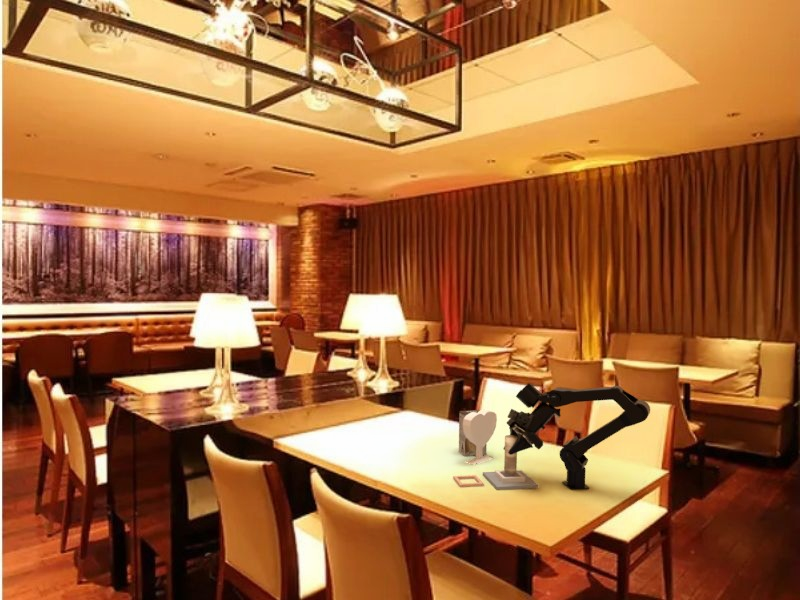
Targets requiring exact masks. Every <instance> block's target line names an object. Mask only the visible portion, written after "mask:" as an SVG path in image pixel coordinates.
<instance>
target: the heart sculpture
mask: <svg viewBox="0 0 800 600" xmlns="http://www.w3.org/2000/svg"><path fill="white" fill-rule="evenodd" d="M479 410H480V411H479V412H478V413H476V412H471V413H469V414H468V415H466V416H465V418H464V420H463V432H464V434H465V436H466V438H467V439H468V440H469V441H470V442H472V443H473V444H475V445H476V455H475V457H474V458H472V459H468V460H465V461H466V462H468V463H470V464H476V463H479V464H482V463H484V462H483V461H485V462H488V461H487V460H489V459H492V460H494V459H493V458H494V457H493V458H491V457H492V456H491V457H489V456H490V455H484V456H483V447H484V446H485V444H486V445H487V443H488V442H489V441H490V440H491V438H492V437H493V435H494V433H495V430H496V428H497V420H498V418H497V413H496V412H494V411H490V410H485V409H479ZM489 461H490V460H489ZM481 462H482V463H481ZM470 464H469V465H470ZM476 465H477V464H476Z"/></svg>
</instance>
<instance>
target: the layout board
mask: <svg viewBox="0 0 800 600" xmlns="http://www.w3.org/2000/svg"><path fill="white" fill-rule="evenodd" d="M482 476H483V477H484V478H485V479H486V480H487V481H488V483H490V484H491V486H493V488H494V489H495V490H496V489H497V490H496V491H507V490H525V489H539V484H538V483H537V482H536V481H534V479H532V478H531V477H530V476H529V475H527V473H525V472H524V471H523V470H517V469H516V474H514V475H509V474H505V473H504V469H501V470H500V469H499V470H494V471H483V472H482Z"/></svg>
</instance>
